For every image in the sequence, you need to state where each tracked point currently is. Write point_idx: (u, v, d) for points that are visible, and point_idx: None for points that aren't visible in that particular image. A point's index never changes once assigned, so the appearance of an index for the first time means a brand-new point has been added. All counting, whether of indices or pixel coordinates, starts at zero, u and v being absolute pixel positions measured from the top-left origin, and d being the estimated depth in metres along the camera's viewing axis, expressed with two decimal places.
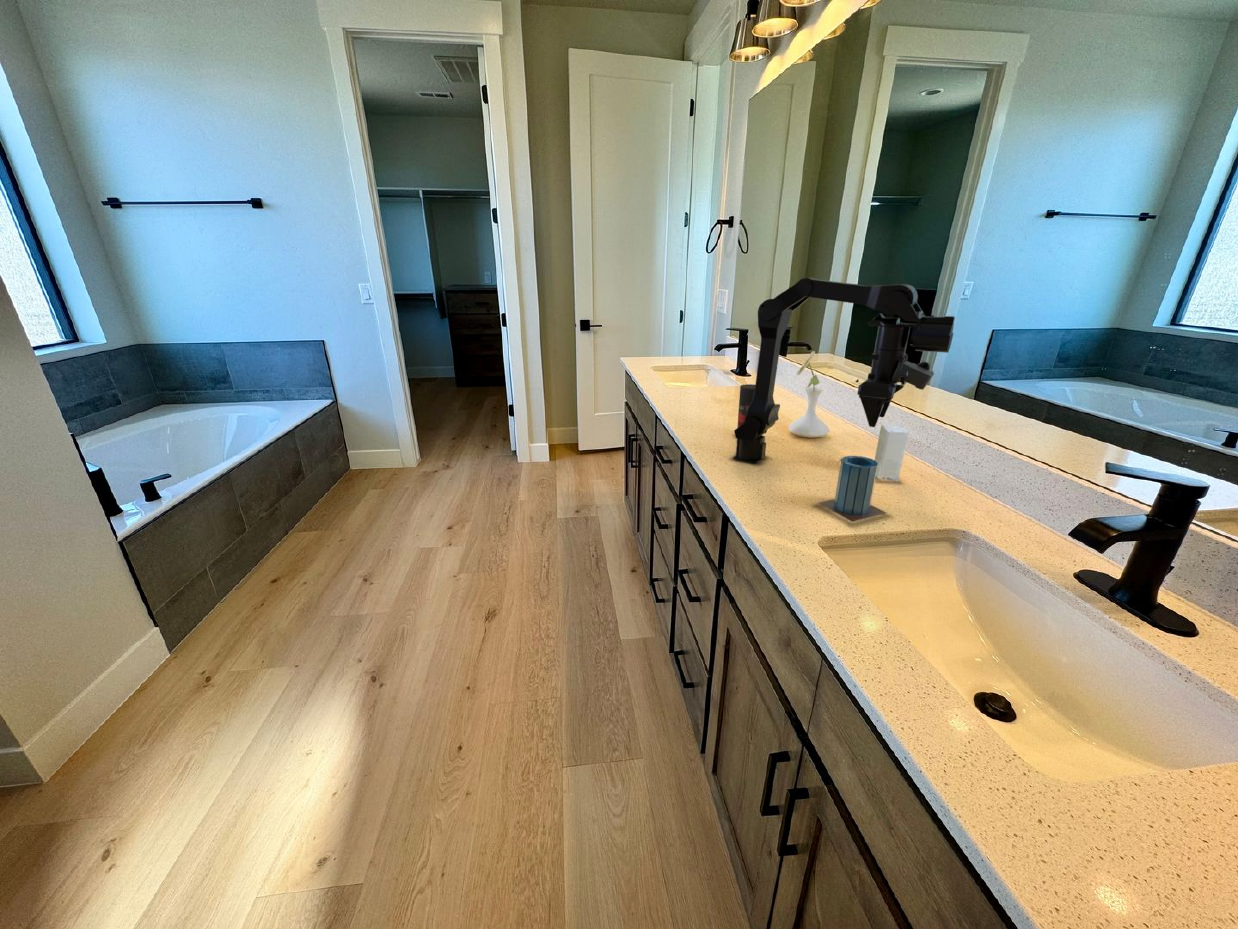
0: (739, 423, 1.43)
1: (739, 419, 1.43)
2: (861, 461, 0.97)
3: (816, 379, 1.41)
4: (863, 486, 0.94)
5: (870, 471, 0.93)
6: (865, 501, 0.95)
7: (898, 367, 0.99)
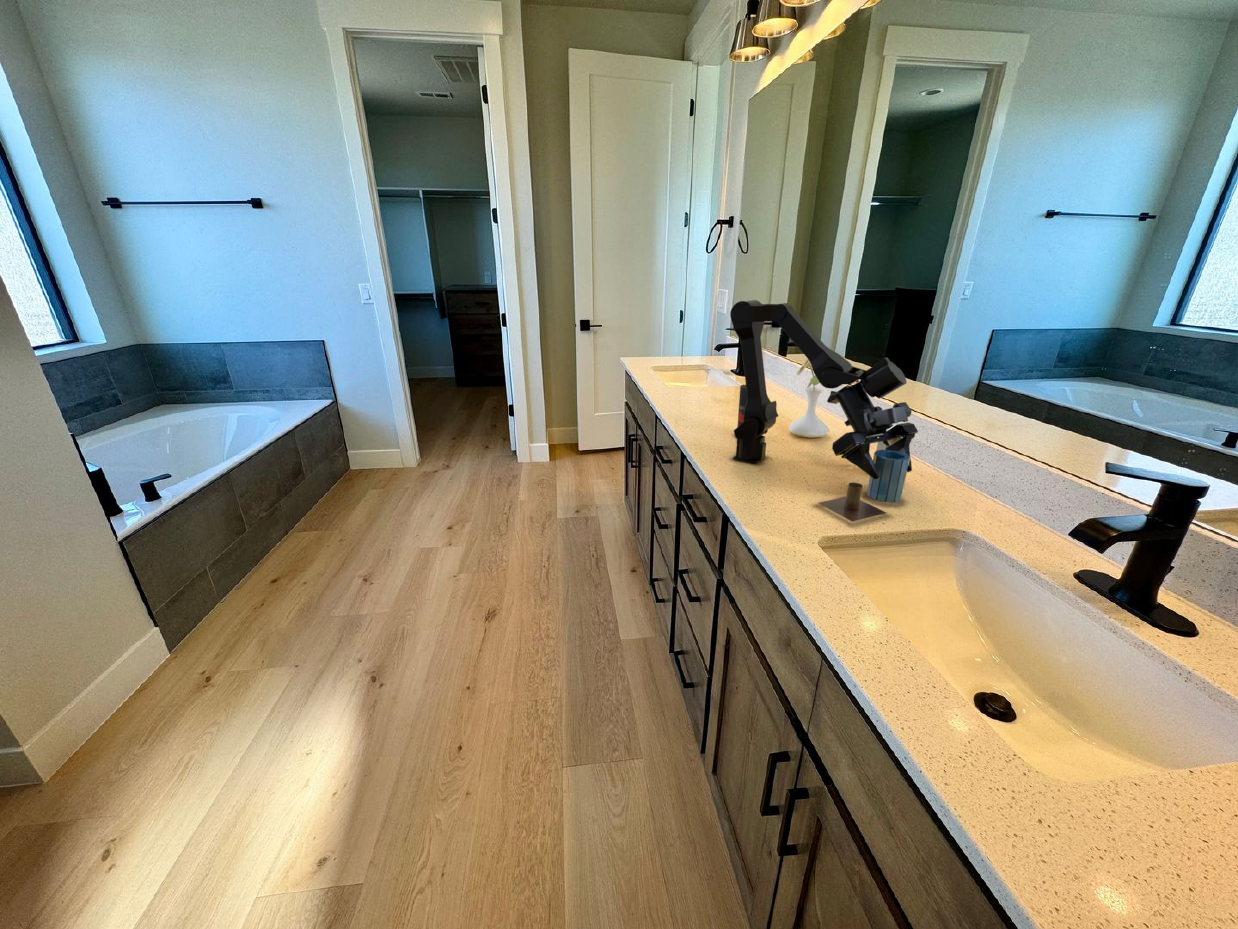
0: (739, 423, 1.43)
1: (739, 419, 1.43)
2: (893, 455, 1.03)
3: (816, 379, 1.41)
4: (896, 478, 0.99)
5: (903, 464, 0.98)
6: (897, 493, 1.00)
7: (864, 418, 1.02)
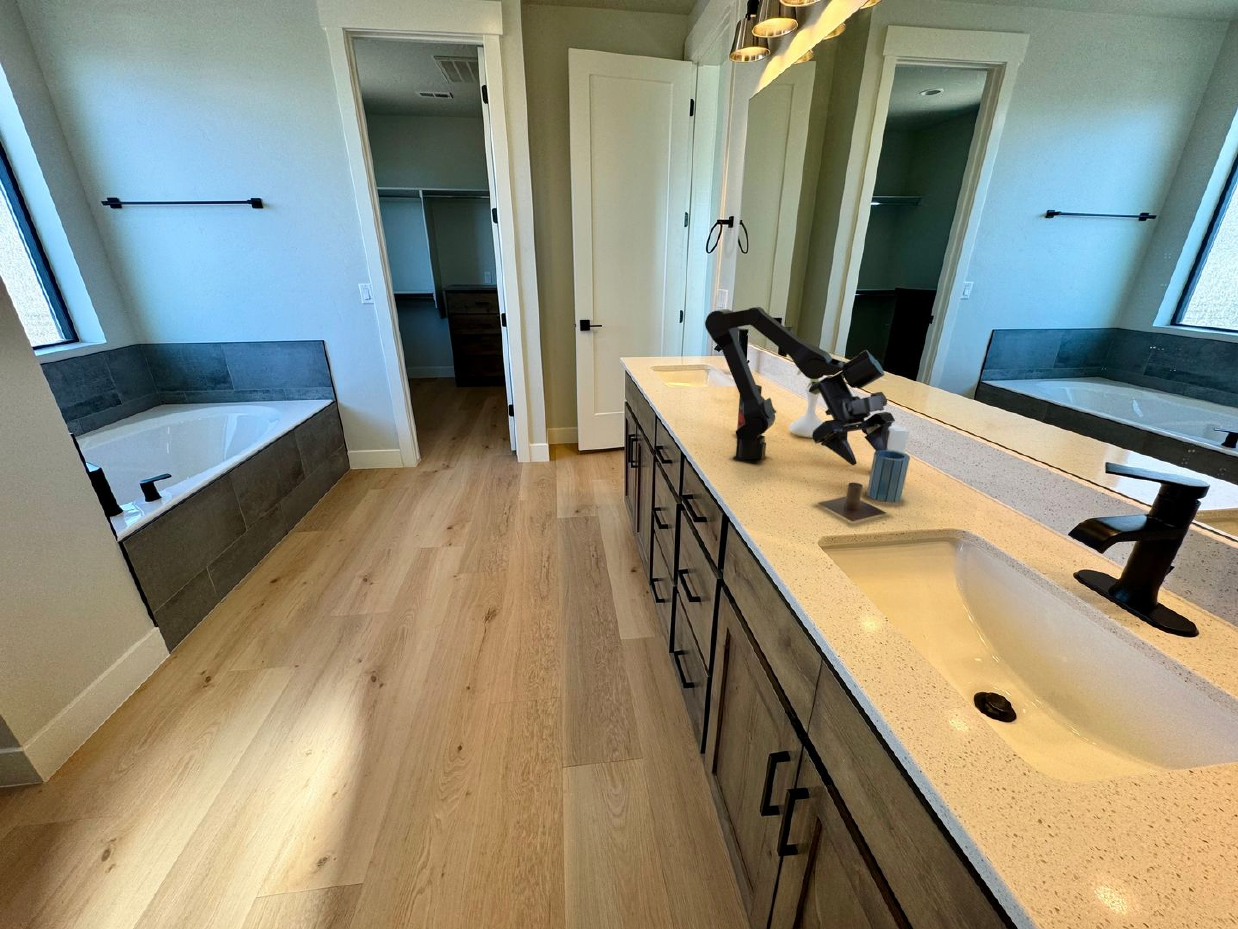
0: (739, 423, 1.43)
1: (739, 419, 1.43)
2: (893, 455, 1.03)
3: (816, 379, 1.41)
4: (896, 478, 0.99)
5: (903, 464, 0.98)
6: (897, 493, 1.00)
7: (843, 407, 1.07)
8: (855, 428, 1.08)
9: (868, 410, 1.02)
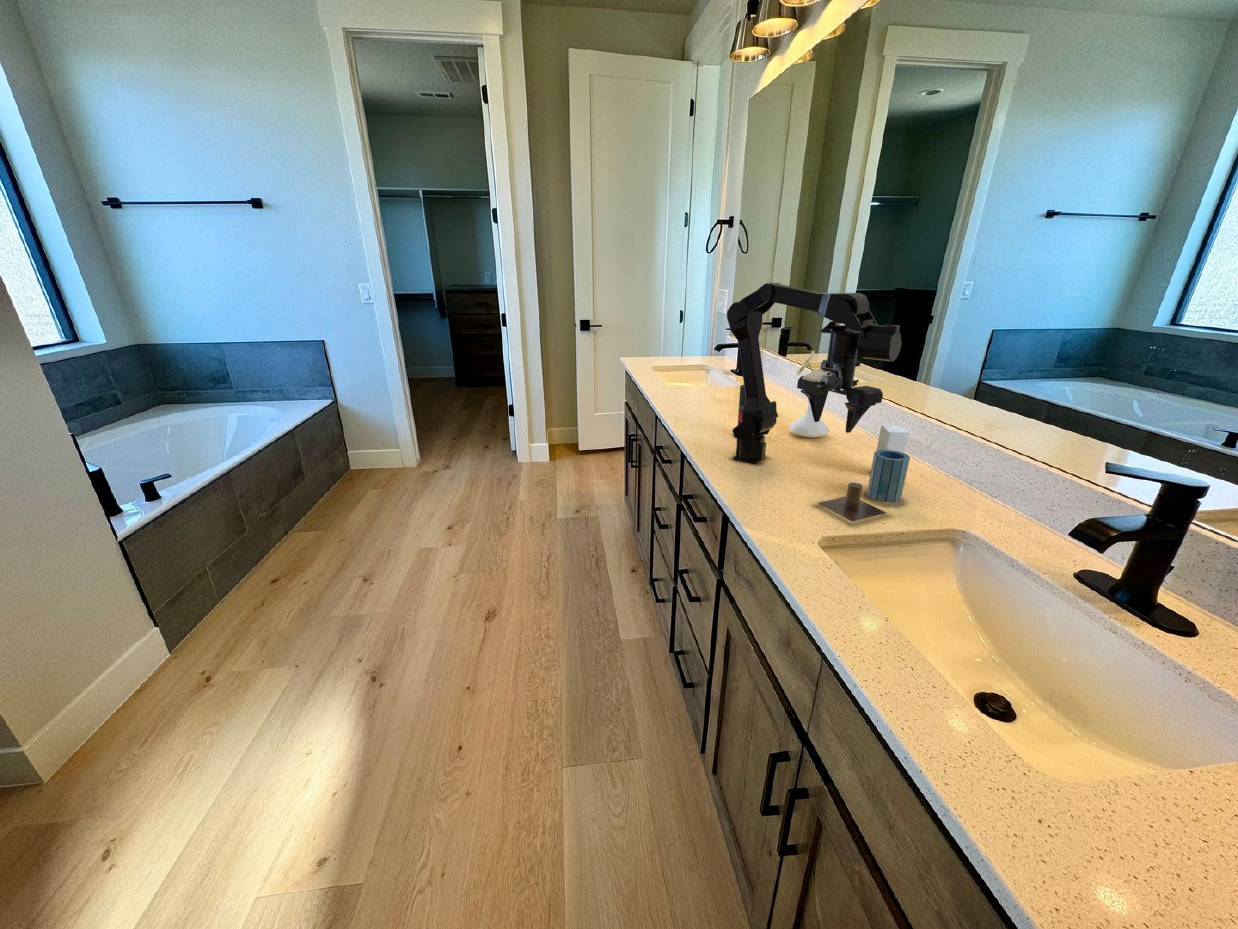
0: (739, 423, 1.43)
1: (739, 419, 1.43)
2: (893, 455, 1.03)
3: None
4: (896, 478, 0.99)
5: (903, 464, 0.98)
6: (897, 493, 1.00)
7: None
8: (836, 391, 1.06)
9: None
